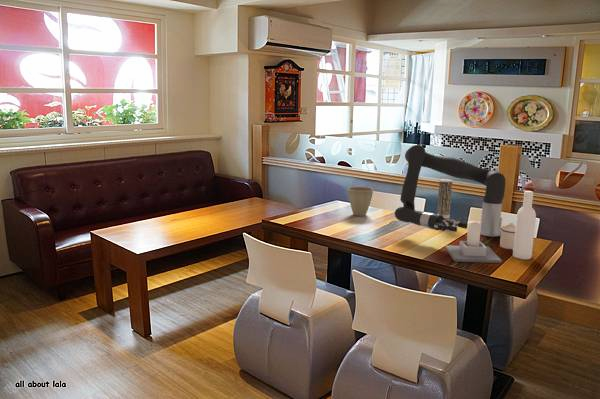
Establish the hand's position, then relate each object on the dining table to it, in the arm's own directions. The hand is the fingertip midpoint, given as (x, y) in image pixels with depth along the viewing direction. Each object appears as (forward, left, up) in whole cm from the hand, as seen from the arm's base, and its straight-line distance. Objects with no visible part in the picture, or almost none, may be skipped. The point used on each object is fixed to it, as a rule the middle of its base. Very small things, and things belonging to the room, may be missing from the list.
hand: (461, 227), depth 229 cm
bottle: (-26, +4, -12) cm, 29 cm away
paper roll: (-4, +4, -10) cm, 12 cm away
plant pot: (+44, -68, -12) cm, 81 cm away
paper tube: (-2, -52, -12) cm, 53 cm away
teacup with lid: (-26, -12, -12) cm, 31 cm away
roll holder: (-4, +4, -11) cm, 13 cm away
